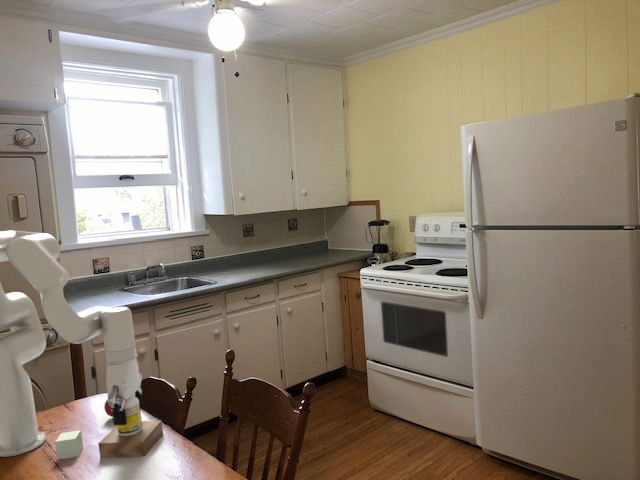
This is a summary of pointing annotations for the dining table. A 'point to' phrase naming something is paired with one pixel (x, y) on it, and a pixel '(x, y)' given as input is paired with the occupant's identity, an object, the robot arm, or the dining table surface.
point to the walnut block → (131, 441)
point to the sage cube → (69, 444)
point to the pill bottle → (131, 417)
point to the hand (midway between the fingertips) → (129, 416)
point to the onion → (108, 409)
